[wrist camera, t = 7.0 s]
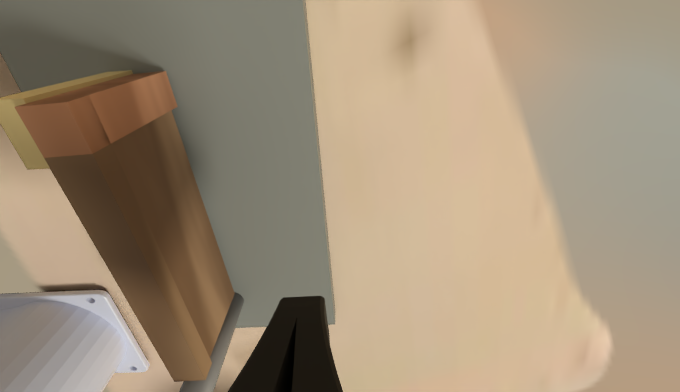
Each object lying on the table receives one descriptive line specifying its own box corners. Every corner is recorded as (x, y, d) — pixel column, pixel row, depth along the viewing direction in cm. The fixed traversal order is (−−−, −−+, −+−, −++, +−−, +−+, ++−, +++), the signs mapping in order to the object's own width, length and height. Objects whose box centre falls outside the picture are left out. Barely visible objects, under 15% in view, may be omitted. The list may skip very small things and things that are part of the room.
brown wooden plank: (215, 292, 19) (174, 381, 14) (131, 74, 13) (14, 107, 8) (239, 290, 18) (205, 380, 14) (165, 70, 13) (67, 102, 8)
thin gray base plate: (156, 318, 21) (83, 438, 15) (-15, -24, 12) (-378, -65, 6) (335, 311, 21) (332, 432, 15) (300, -48, 12) (255, -117, 6)
